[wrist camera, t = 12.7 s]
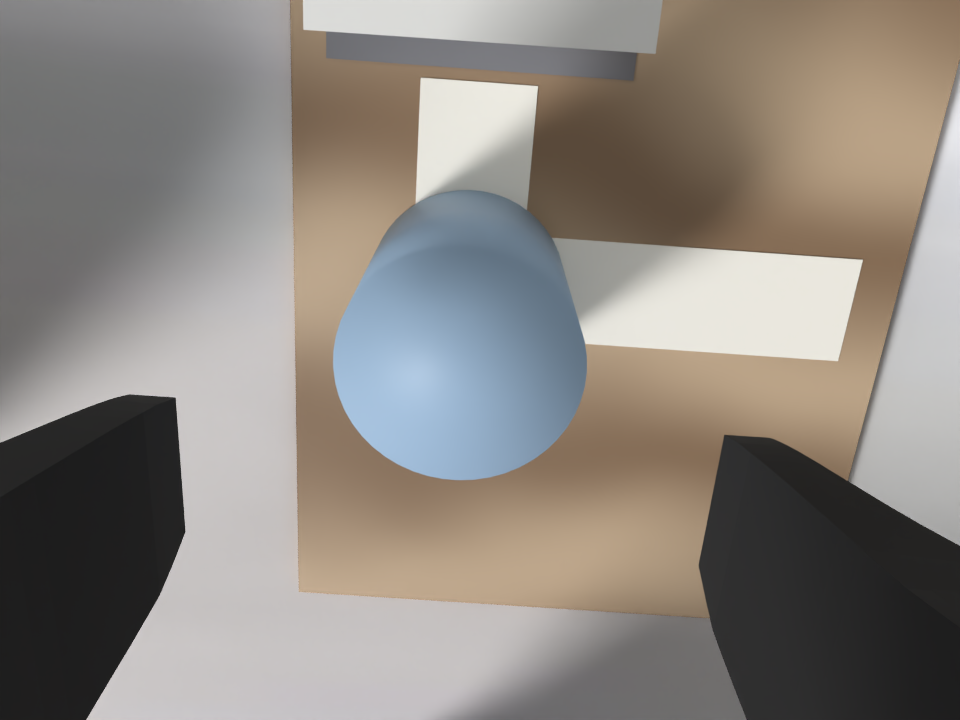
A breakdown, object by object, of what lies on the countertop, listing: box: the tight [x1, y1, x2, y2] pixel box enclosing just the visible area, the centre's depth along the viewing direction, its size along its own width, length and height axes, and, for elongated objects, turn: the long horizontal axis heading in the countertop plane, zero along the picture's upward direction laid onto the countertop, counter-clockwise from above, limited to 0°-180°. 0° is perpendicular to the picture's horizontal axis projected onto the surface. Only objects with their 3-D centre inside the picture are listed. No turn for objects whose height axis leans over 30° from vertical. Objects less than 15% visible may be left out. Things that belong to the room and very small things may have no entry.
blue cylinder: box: [333, 190, 587, 480], centre depth 17 cm, size 4×4×5 cm
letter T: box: [416, 78, 863, 361], centre depth 20 cm, size 9×10×1 cm
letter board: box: [290, 0, 960, 618], centre depth 19 cm, size 23×14×1 cm, turn 176°
